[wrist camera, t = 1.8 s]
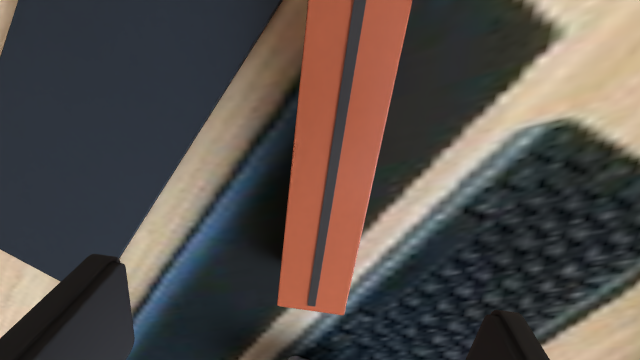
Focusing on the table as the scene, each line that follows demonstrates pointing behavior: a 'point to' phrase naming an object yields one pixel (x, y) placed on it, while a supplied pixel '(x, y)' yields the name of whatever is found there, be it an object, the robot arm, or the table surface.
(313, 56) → the pencil case
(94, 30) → the mat
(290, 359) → the fossil
